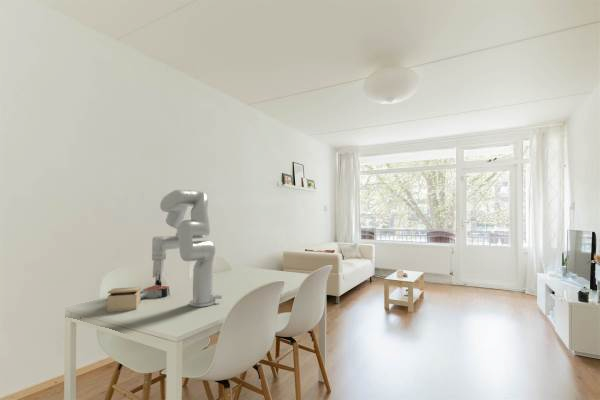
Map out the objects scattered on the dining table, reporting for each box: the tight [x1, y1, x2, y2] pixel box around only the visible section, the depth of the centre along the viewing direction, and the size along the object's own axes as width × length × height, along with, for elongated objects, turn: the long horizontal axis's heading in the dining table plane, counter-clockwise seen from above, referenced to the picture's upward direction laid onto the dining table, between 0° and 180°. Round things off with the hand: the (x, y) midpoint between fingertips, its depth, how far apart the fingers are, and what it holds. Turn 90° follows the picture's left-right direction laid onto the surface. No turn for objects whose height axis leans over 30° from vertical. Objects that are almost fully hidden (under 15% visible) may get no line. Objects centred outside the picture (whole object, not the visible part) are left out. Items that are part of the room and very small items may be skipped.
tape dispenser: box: [140, 284, 171, 300], centre depth 173 cm, size 18×5×20 cm
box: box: [106, 289, 141, 313], centre depth 155 cm, size 12×12×7 cm
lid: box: [107, 286, 141, 294], centre depth 155 cm, size 12×12×1 cm
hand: (158, 288), depth 188 cm, fingers closed
